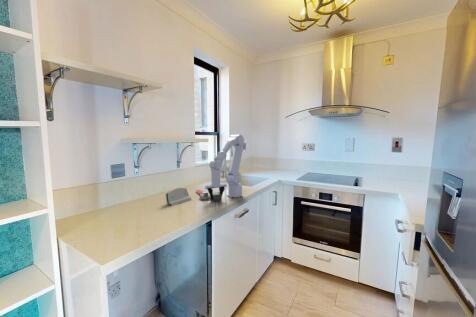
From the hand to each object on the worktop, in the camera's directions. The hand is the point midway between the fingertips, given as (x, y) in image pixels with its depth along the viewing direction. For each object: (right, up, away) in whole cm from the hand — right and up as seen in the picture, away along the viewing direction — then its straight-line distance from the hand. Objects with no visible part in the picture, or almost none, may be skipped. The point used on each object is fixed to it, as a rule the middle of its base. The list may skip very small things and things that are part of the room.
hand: (216, 198), depth 140 cm
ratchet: (-11, 0, +13) cm, 17 cm away
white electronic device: (-25, -2, -1) cm, 25 cm away
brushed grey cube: (0, -2, 0) cm, 2 cm away
